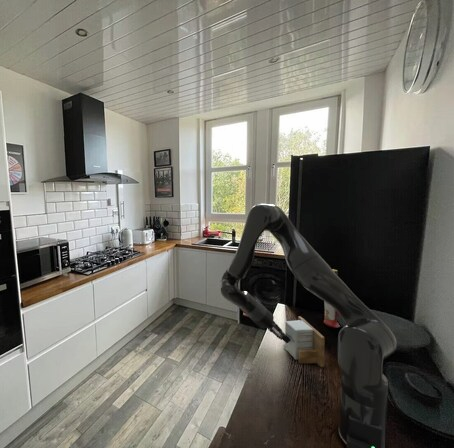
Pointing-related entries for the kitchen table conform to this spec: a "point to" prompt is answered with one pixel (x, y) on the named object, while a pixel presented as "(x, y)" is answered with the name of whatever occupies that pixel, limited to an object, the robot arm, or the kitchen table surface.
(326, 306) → the liquor
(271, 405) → the kitchen table surface
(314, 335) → the wooden stand
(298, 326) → the white packaging box
